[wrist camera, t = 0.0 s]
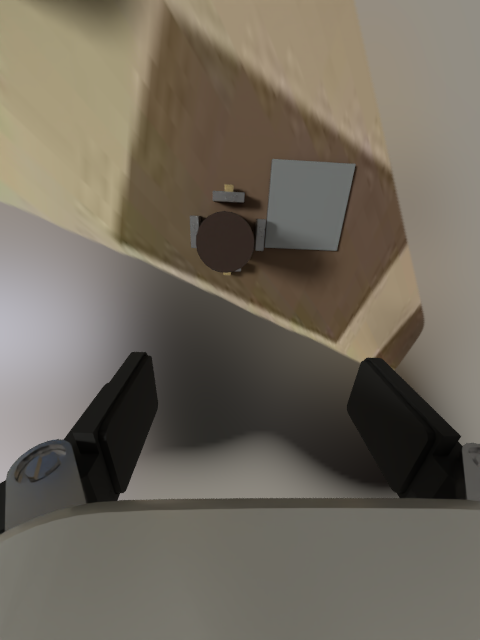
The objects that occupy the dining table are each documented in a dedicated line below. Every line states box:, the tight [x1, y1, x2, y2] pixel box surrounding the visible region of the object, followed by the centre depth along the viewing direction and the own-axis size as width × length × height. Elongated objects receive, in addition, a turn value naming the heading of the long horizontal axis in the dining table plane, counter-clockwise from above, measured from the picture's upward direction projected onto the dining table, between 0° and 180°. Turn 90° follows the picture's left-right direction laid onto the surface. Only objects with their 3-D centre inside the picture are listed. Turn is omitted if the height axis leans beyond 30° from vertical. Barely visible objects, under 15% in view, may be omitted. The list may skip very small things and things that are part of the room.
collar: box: [190, 185, 266, 275], centre depth 35 cm, size 13×11×3 cm
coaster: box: [264, 159, 356, 251], centre depth 35 cm, size 12×12×1 cm
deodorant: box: [196, 211, 254, 273], centre depth 30 cm, size 6×6×15 cm
